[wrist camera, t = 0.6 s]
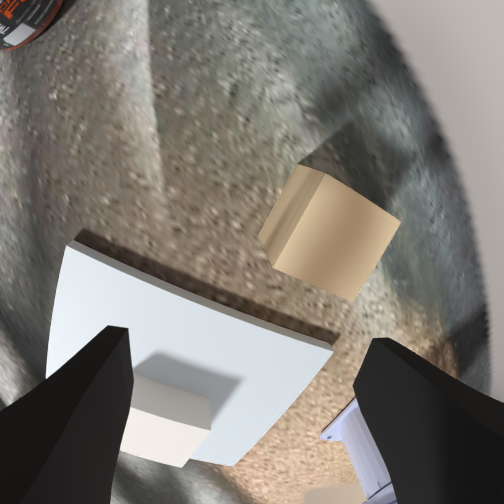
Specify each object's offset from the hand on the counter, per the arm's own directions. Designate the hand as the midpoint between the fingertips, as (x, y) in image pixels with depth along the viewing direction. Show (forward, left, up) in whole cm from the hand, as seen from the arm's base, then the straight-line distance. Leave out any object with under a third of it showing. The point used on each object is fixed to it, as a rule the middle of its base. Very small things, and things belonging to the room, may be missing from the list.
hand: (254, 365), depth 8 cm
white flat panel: (0, +11, -10) cm, 15 cm away
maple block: (-3, -4, -10) cm, 11 cm away
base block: (0, +13, -8) cm, 16 cm away
